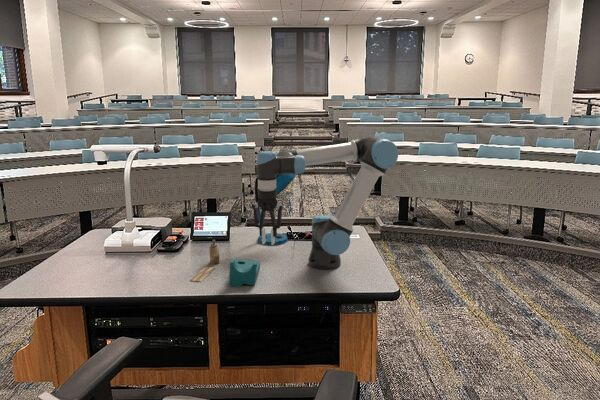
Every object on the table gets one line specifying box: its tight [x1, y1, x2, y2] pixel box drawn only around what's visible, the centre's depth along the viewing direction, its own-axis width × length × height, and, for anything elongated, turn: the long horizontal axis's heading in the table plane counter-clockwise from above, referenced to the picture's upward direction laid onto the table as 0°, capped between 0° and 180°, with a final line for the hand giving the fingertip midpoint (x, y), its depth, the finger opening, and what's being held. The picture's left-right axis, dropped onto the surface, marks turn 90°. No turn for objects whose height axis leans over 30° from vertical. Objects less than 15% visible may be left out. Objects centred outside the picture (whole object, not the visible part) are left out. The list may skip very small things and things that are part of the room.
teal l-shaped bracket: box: [228, 258, 261, 288], centre depth 210 cm, size 18×11×10 cm, turn 178°
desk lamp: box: [254, 174, 297, 246], centre depth 256 cm, size 16×22×45 cm
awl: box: [208, 239, 220, 265], centre depth 228 cm, size 4×4×11 cm
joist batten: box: [189, 266, 216, 283], centre depth 215 cm, size 5×16×1 cm, turn 168°
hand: (268, 243), depth 205 cm, fingers open, 3 cm apart
